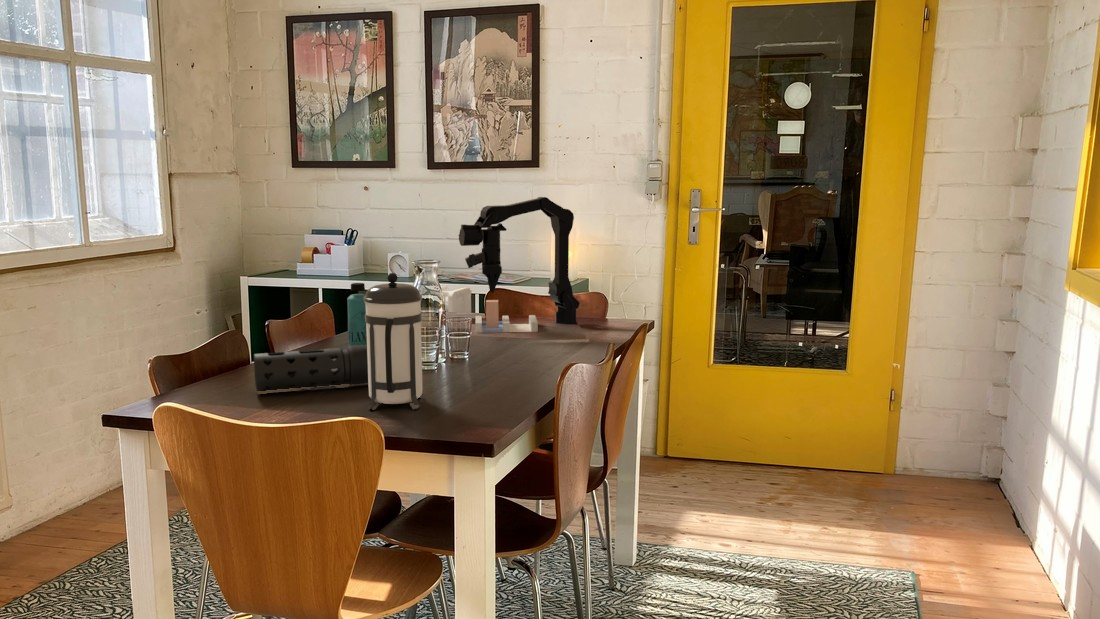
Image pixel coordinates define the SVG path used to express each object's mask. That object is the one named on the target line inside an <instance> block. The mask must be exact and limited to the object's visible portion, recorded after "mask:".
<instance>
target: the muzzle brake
mask: <svg viewBox="0 0 1100 619" xmlns="http://www.w3.org/2000/svg"><path fill="white" fill-rule="evenodd" d="M253 368H254V370H253V371H254V382H255V391H266V390H277V389H289V388H301V387H317V386H329V385H341V384H351V385H352V384H354V385H364V384H365V383H366V384H368V357H367V346H366V345H355V346H349V345H348V346H347V347H346V348H345V349H342V348H341V347H332V348H330V347H329V348H322V349H320V348H319V349H312V350H311V349H309V350H308V349H307V350H289V351H281V352H280V351H278V352H263V353H262V352H261V353H254V354H253Z"/></svg>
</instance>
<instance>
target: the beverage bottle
mask: <svg viewBox="0 0 1100 619" xmlns="http://www.w3.org/2000/svg"><path fill="white" fill-rule="evenodd" d="M365 286H366V285H365V283H364V282H353V283H351V284H350V291H351V292H364V291H366V287H365ZM364 296H366V293H365V294H364V293H354V294H353V293H352V294H350V295H349V296H348V297H347V298H346V299H347V300H346V301H347V338H348V339H347V340H348V342H347V344H348V347H349V346H355V345H366V346H367V329H366V322H365V313H366V304H365V302H364Z"/></svg>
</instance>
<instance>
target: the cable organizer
mask: <svg viewBox="0 0 1100 619" xmlns="http://www.w3.org/2000/svg"><path fill="white" fill-rule="evenodd" d="M440 287H441V288H442V291H443V296H444V302H445V311H446V312H457V313H471V314H472V290H471V288H470V287H461V288H457V289H454V290H449V287H448V286H447V285H446V286H445V285H443V286H440Z"/></svg>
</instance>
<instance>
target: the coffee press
mask: <svg viewBox="0 0 1100 619" xmlns="http://www.w3.org/2000/svg"><path fill="white" fill-rule="evenodd" d="M386 279H387V280H388V283H382V284H375V285H372V286H371V287H370V288H368V289H367V290H366V292H365V295H366V296H364V302H365V304H366V313H365V322H366V329H367V357H368V383H367V384H368V397H369V398H370V401H369V403H368V404H369V405H373V406H374V405H375V403H378V404H380V405H382V403H383V404H387V405H399V404H407V405H408V404H410V403H414V405H420V402H419V400H418V398H419V397H420V396H421V395H423V396H424V394H423V358H422V355H423V354H422V352H423V351H422V320H423V312H422V311H421V303H422V300H423V295H422V294H421V293H420V290H419V289H418V288H417V287H416V286H414V285H412V284H409V283H397V281H398V275H397V274H396V273H394V272H391V273H389V274H388V275H387V278H386Z"/></svg>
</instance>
